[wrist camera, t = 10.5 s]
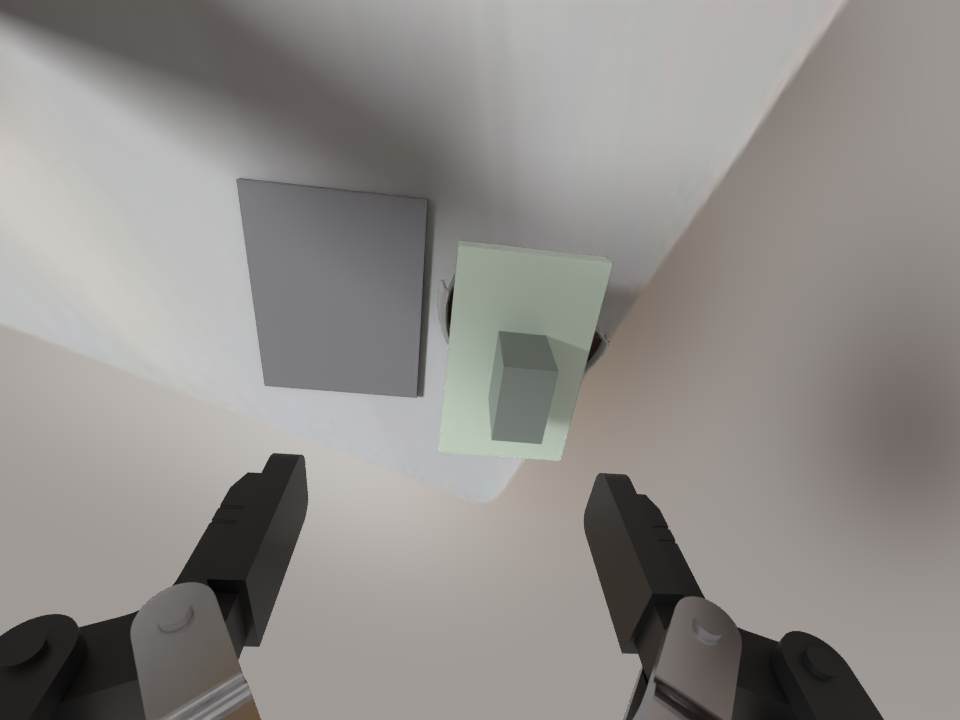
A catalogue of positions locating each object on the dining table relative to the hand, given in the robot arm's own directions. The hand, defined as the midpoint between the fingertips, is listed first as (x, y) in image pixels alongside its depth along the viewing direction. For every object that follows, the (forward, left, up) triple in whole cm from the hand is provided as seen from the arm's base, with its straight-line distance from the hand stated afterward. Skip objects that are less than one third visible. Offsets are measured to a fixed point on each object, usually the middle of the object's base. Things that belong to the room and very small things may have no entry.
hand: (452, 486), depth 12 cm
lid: (+4, -5, -17) cm, 19 cm away
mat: (-10, -6, -27) cm, 30 cm away
